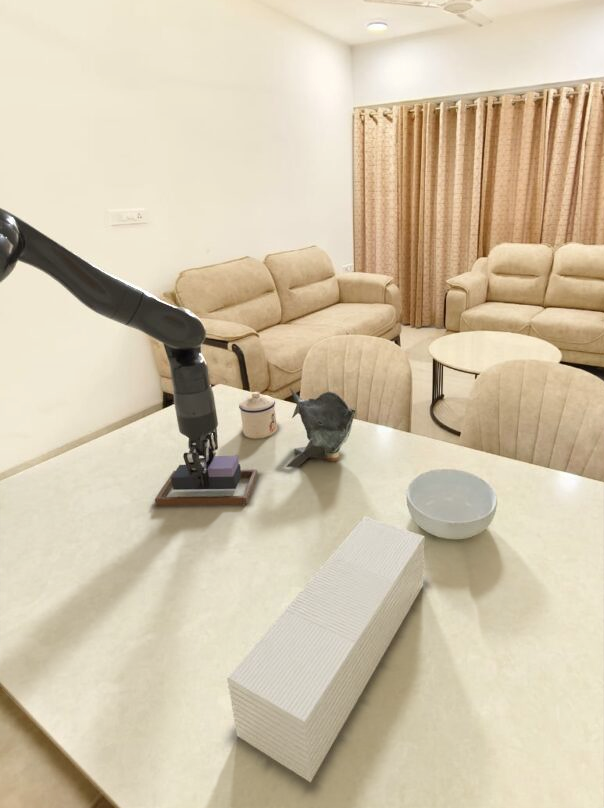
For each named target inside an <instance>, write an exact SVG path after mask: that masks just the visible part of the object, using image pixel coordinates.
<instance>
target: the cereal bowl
mask: <svg viewBox="0 0 604 808" xmlns="http://www.w3.org/2000/svg"><path fill="white" fill-rule="evenodd" d="M405 495H406V503H407V504H406V506H407V509H408V512H409V514H410V517H411V519H412V520H413V522H415V524H416V525H417V526H418V527H420V529H422V530H423V531H425V532H427V533H428V534H430V535H432V536H435V537H438V538H440V539H445V540H463V539H468V538H472V537H475V536H477V535H480V534H481V533H482V532H484V531H485V530H487V528H488V527H489V526H490V524H491V523H492V521H493V520H494V517H495V515H496V512H497V511H496V510H497V506H498V497H497V493H496V491H495V489H494V488H493V486H492V485H491V484H490V483H489V482H488V481H486V480H485V479H483V478H482V477H481V476H479V475H476V474H474V473H471V472H469V471H465V470H461V469H455V468H438V469H432V470H428V471H425V472H422V473H420V474H418V475H417V476H415V477H414V478H413V479H412V480H411V481H410V482H409V483H408V485H407V489H406V494H405Z"/></svg>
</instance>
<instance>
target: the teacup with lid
mask: <svg viewBox="0 0 604 808" xmlns="http://www.w3.org/2000/svg"><path fill="white" fill-rule="evenodd" d="M238 407H239V411H240V418H241V425H242V433H243V435H244V436H245V437H247V438H249V439H264V438H267V437H270V436H273V435H274V434H275V433H276V432H277V429H278V428H277V427H278V426H277V420H276V419H277V418H276V417H277V416H276V409H275V407H276V401H275V399H274V398H273V397H272V396H270V395H267V394H261V392H259V391H253V392H252V393H251V395H249V396H247V397H244V398H243V399H242V400H241V401H240V402H239V405H238Z"/></svg>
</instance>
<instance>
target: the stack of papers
mask: <svg viewBox="0 0 604 808" xmlns="http://www.w3.org/2000/svg"><path fill="white" fill-rule="evenodd" d="M424 566H425V536H424V535H422V534H420V533H416V532H413V531H410V530H407V529H404V528H400V527H398V526H395V525H392V524H389V523H386V522H383V521H380V520H378V519H377V520H376V519H374V518H371V517H368V516H364V517H362V519H361V520H360V521H359V522H358V523H357V524H356V526H355V527H354V528H353V529H352V531H351V532H350V533H349V534H348V535H347V537H346V538H344V540H343V541H342V542H341V543H340V545H339V546H338V547H337V548H336V549H335V550H334V552H333V553H332V554H331V555H330V556H329V558H328V559H327V560H325V562H324V563H323V565H322V566H321V567H320V568H319V569H318V571H316V573H315V574H314V575H313V576H312V577H311V579H310V580H309V581H308V582H307V583H306V584H305V586H304V587H303V588H302V590H300V592H299V593H298V594H297V595H296V597H295V598H294V599H293V600H292V601H291V602H290V603H289V605H287V607H286V608H285V609H284V610H283V612H282V613H281V614H280V615H279V616H278V617H277V619H276V620H275V621H274V622H273V623H272V625H270V627H269V628H268V629H267V631H266V632H265V633H264V634H263V635H262V636H261V637H260V639H259V640H258V641H257V642H256V643H255V645H254V646H253V647H252V648H250V650H249V651H248V652H247V654H245V657H243V659H242V660H241V661H240V662H239V663H238V665H237V666H236V667H235V668H234V669H233V670H232V671H231V673H230V674H229V675H228V676H227V677H226V681H227V686H228V692H229V698H230V703H231V704H230V705H231V707H232V708H231V709H232V713H233V714H232V715H233V718H234V720H233V721H234V727H235V729H236V730H235V732H236V736H237V738H240V739H241V740H243V741H244V742H246V743H247V744H249V745H251V747H254V748H255V749H257V750H259V751H260V752H262V753H263V754H265V755H266V756H268V757H270V758H271V759H273V760H275V762H277V763H278V764H281V765H282V766H283V767H285V768H287V769H289V771H291V772H294V773H295V774H297V775H298V776H300V777H301V778H302V779H304V780H306V781H307V782H309V783H311V782H312V781H313V779H314V778H315V775H316V774H317V773H318V770H319V768H320V767H321V765H322V763H323V761H324V760H325V758H326V756H327V755H328V752H329V751H330V749H331V748H332V745H333V744H334V742H335V740H336V739H337V737H338V735H339V733H340V732H341V731H342V729H343V726H344V725H345V723H346V721H347V720H348V718H349V716H350V714H351V713H352V710H353V709H354V707H355V705H356V704H357V702H358V701H359V698H360V697H361V695H362V693H363V692H364V689H365V688H366V686H367V684H368V683H369V681H370V679H371V677H372V676H373V674H374V672H375V670H376V669H377V667H378V665H379V663H380V662H381V660H382V658H383V656H384V654H385V653H386V651H387V650H388V647H389V646H390V645H391V642H392V641H393V639H394V638H395V635H396V634H397V632H398V630H399V628H400V627H401V625H402V623H403V621H404V619H405V618H406V616H407V615H408V613H409V611H410V609H411V608H412V605H413V603H414V602H415V600H416V599H417V597H418V595H419V593H420V591H421V590H422V588H423V586H424V573H425V572H424V568H425V567H424Z"/></svg>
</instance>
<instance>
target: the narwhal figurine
mask: <svg viewBox="0 0 604 808" xmlns="http://www.w3.org/2000/svg"><path fill="white" fill-rule="evenodd" d="M288 388H289V390H290V392H291V394H292V397H293V399H294V402H295V404H296V405H295V408H294V412H293V414H292V417H291V419H293V418H294V417H295V416H297V415H300V420H301V423H302V424H303V426H304V429H305V432H306V438H307V440H308V441H309V442H308V443H307V445H306V446H301V447H296V448H294V453H295V456H294V457H293V458H292V459H291V460H290V462H289V463H288V464H287V465H286V466H285V467H286V468H287V467H288V468H296V469H297V468H299V467H300V466H301V465H302V464H304V462H305V461H306V460H308V459H309V458H317V459H324V460H327V461H330V462H333V461H338V460H339V459H340V458H341V454H340V450H341V448H342V446H343V445H344V443H346V442H347V441H348V439H349V437H350V433H351V431H352V425H353V421H354V419H355V415H356V409H353V408H349V407H348V405H347V403H346V401H345V400H343V398H342V397H340V395H338V394H337V393H336V392H333V391H326V392H323V393H322V394H320V395H319V396H318V397H317V398H307V399H302V398H301V397H300V396H299V395H298V394H297V393H296V392H295V391H294V390H293V389H292V388H291V387H289V386H288Z"/></svg>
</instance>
